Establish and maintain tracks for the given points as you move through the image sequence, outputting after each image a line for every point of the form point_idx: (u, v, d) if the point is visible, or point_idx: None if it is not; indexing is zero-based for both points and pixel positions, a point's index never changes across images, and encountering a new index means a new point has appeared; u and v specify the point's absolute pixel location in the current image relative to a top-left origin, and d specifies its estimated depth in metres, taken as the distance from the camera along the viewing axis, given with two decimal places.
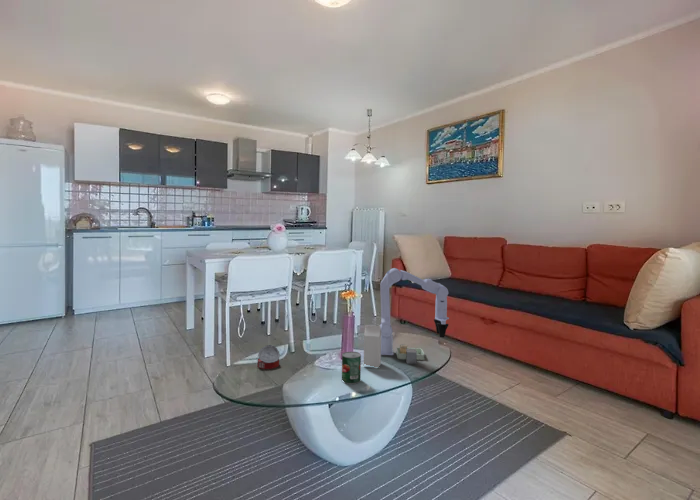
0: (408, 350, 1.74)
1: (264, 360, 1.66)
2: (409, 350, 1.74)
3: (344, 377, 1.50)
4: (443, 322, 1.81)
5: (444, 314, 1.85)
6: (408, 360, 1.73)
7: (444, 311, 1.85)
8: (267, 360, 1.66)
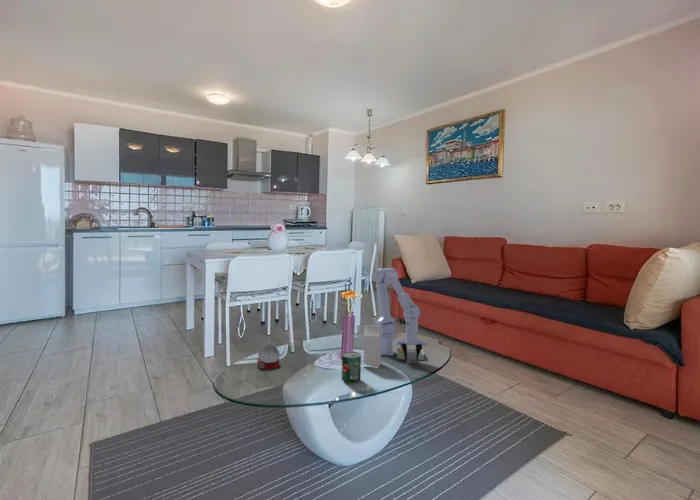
0: (408, 350, 1.74)
1: (264, 360, 1.66)
2: (409, 350, 1.74)
3: (344, 377, 1.50)
4: (396, 342, 1.75)
5: (406, 337, 1.73)
6: (408, 360, 1.73)
7: (406, 333, 1.73)
8: (267, 360, 1.66)
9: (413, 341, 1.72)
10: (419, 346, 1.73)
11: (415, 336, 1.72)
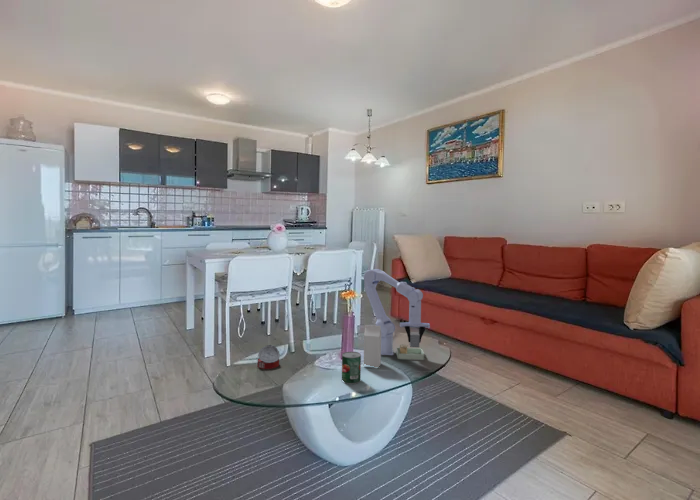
0: (411, 333, 1.80)
1: (264, 360, 1.66)
2: (412, 333, 1.80)
3: (344, 377, 1.50)
4: None
5: (409, 319, 1.79)
6: (411, 342, 1.78)
7: (409, 316, 1.79)
8: (267, 360, 1.66)
9: (416, 323, 1.78)
10: (422, 328, 1.79)
11: (418, 318, 1.78)
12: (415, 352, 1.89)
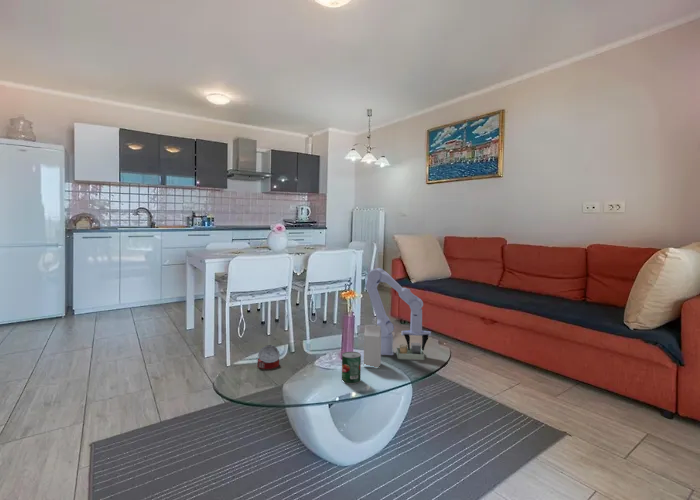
0: (413, 344, 1.83)
1: (264, 360, 1.66)
2: (414, 344, 1.83)
3: (344, 377, 1.50)
4: (401, 332, 1.84)
5: (411, 327, 1.83)
6: (413, 353, 1.82)
7: (411, 324, 1.83)
8: (267, 360, 1.66)
9: (418, 331, 1.81)
10: (423, 336, 1.82)
11: (419, 327, 1.81)
12: None
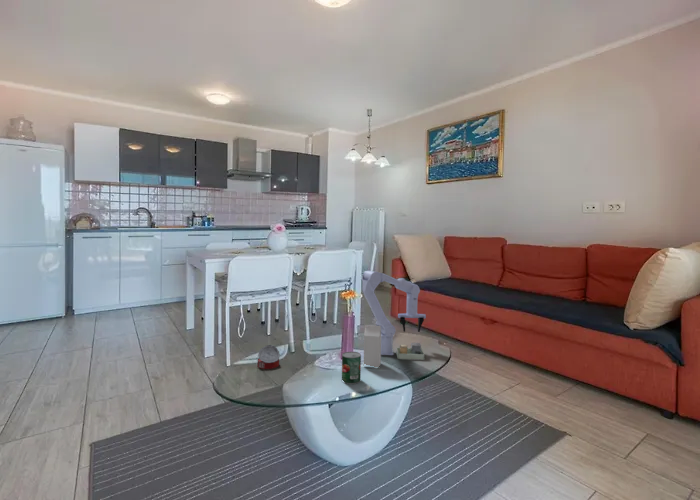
0: (413, 344, 1.83)
1: (264, 360, 1.66)
2: (414, 344, 1.83)
3: (344, 377, 1.50)
4: (398, 315, 1.96)
5: (407, 310, 1.94)
6: (413, 353, 1.82)
7: (407, 307, 1.94)
8: (267, 360, 1.66)
9: (413, 314, 1.93)
10: (418, 319, 1.94)
11: (415, 310, 1.93)
12: None
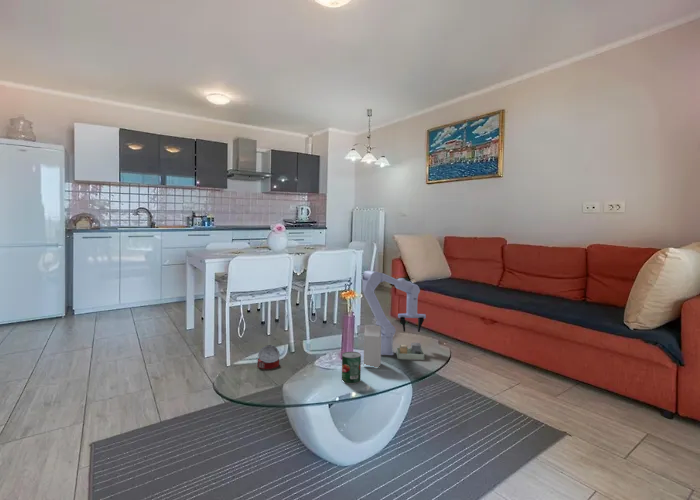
0: (413, 344, 1.83)
1: (264, 360, 1.66)
2: (414, 344, 1.83)
3: (344, 377, 1.50)
4: (398, 315, 1.96)
5: (407, 310, 1.94)
6: (413, 353, 1.82)
7: (407, 307, 1.94)
8: (267, 360, 1.66)
9: (413, 314, 1.93)
10: (418, 319, 1.94)
11: (415, 310, 1.93)
12: None
